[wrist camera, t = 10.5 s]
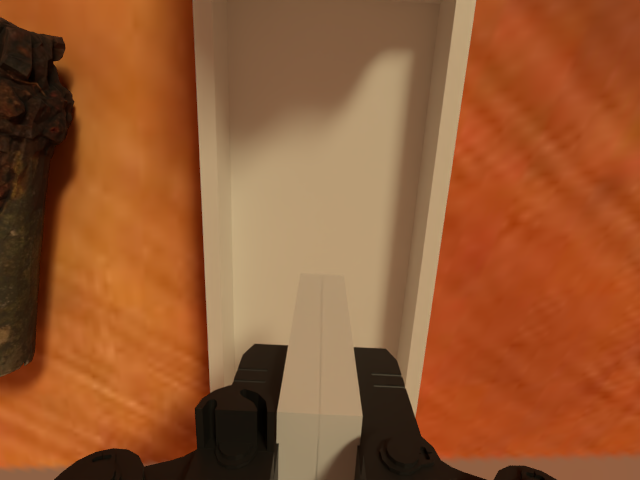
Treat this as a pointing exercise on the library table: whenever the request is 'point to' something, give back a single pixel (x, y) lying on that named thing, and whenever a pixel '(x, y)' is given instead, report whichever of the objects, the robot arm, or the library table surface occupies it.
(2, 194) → the metal pipe
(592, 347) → the library table surface
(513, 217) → the library table surface
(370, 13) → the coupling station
